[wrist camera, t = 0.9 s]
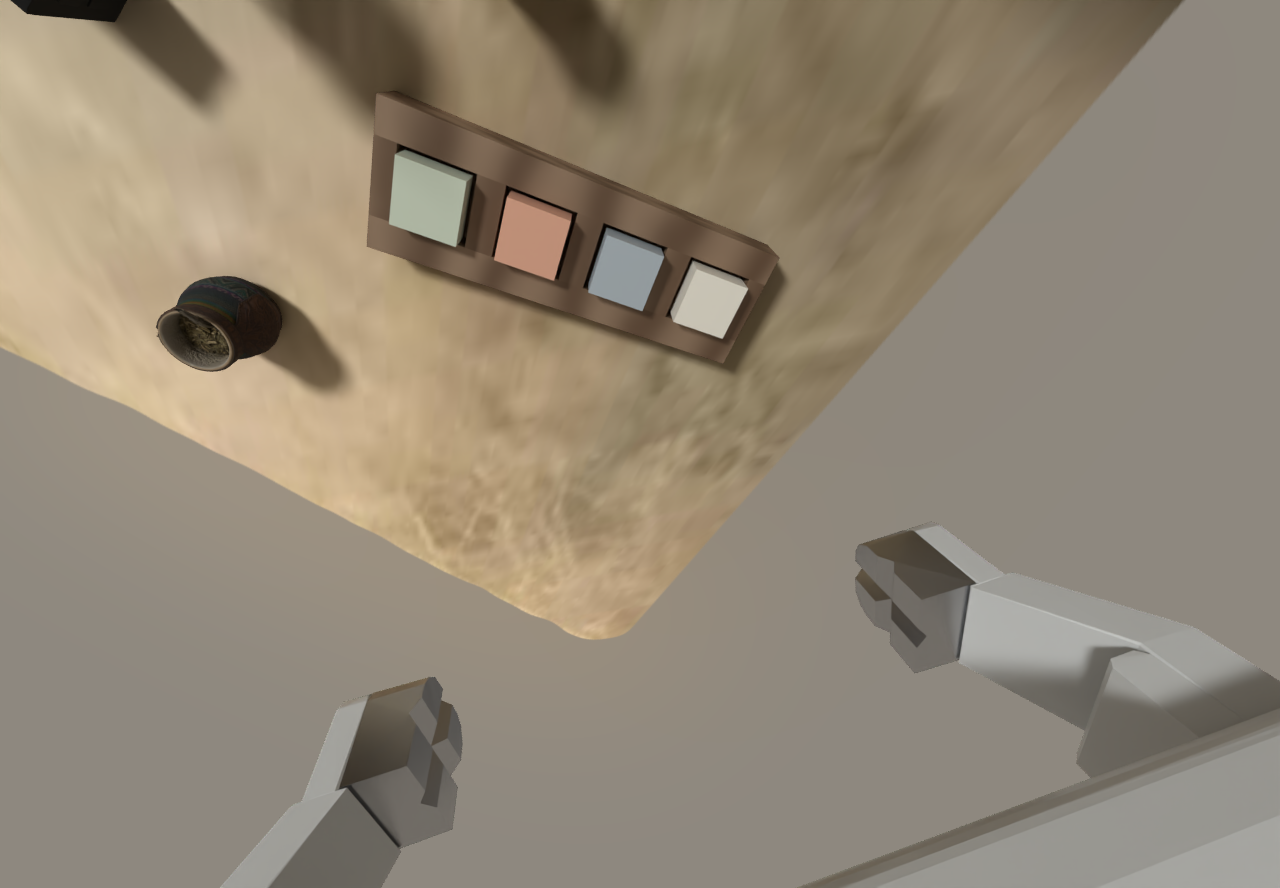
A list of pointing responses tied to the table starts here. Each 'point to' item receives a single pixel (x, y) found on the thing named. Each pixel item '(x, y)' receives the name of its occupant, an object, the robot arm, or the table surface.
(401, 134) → the key frame
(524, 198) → the terracotta key
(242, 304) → the mate gourd
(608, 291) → the slate key
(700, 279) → the cream key
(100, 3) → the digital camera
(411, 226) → the sage key
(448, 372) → the table surface
